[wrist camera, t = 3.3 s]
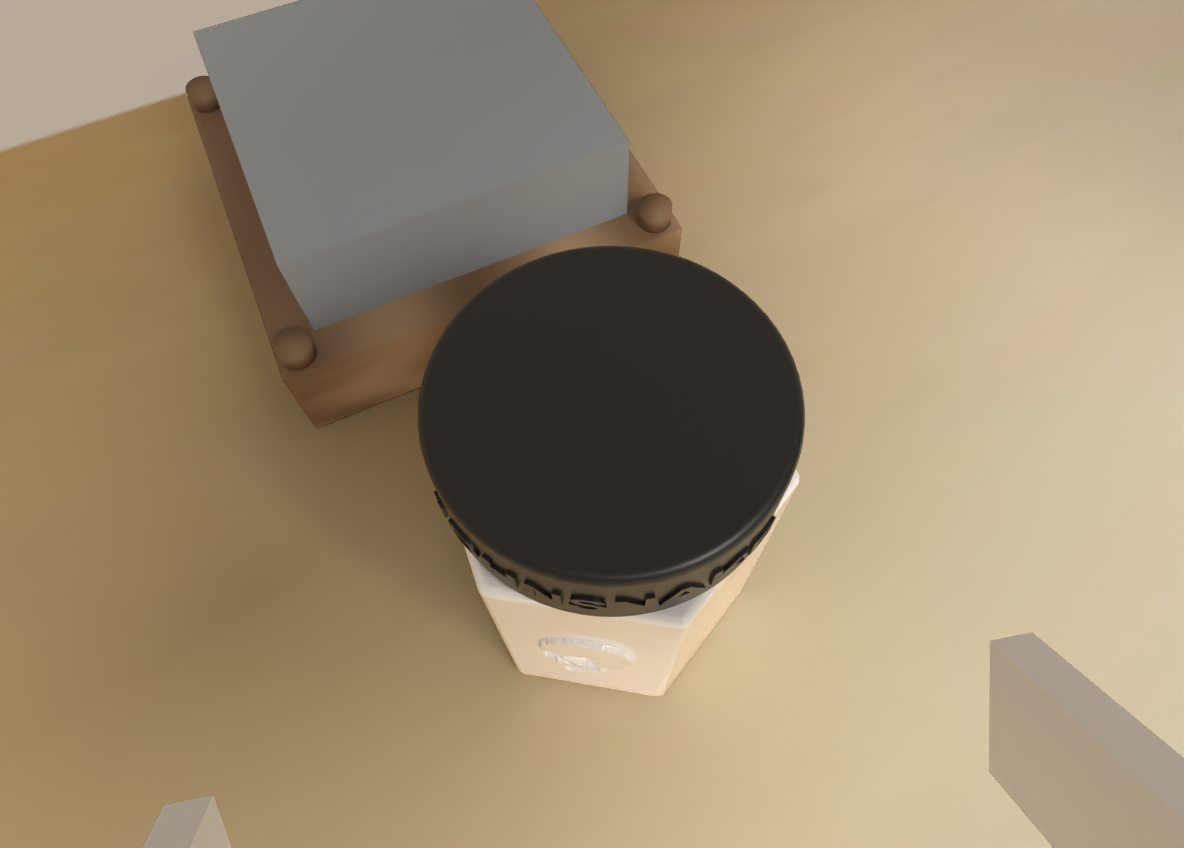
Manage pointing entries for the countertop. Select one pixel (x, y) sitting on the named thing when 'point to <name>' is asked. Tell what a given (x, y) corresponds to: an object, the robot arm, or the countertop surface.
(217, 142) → the walnut base brick
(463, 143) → the grey top brick
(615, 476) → the jar
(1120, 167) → the countertop surface
